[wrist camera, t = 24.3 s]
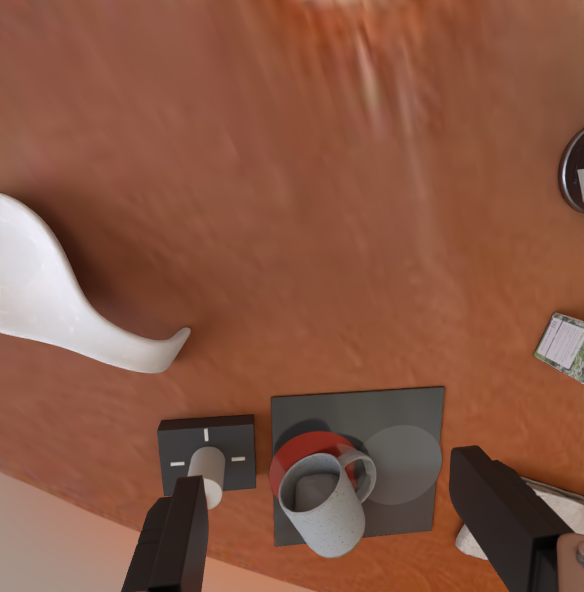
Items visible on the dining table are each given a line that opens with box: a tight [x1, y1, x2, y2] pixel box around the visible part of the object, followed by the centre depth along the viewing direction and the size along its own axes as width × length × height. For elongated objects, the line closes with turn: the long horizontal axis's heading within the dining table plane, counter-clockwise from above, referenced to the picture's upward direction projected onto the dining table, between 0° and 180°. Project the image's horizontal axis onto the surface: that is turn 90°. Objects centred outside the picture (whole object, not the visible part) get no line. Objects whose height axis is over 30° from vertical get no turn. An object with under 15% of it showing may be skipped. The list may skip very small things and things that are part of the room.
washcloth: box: [455, 476, 584, 560], centre depth 50 cm, size 12×18×3 cm, turn 68°
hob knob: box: [188, 447, 225, 512], centre depth 39 cm, size 4×4×5 cm
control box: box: [157, 415, 256, 496], centre depth 43 cm, size 10×8×2 cm
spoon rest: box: [0, 193, 191, 373], centre depth 35 cm, size 24×12×7 cm, turn 58°
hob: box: [269, 386, 445, 547], centre depth 46 cm, size 21×20×1 cm
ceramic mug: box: [278, 450, 376, 558], centre depth 42 cm, size 11×8×8 cm
